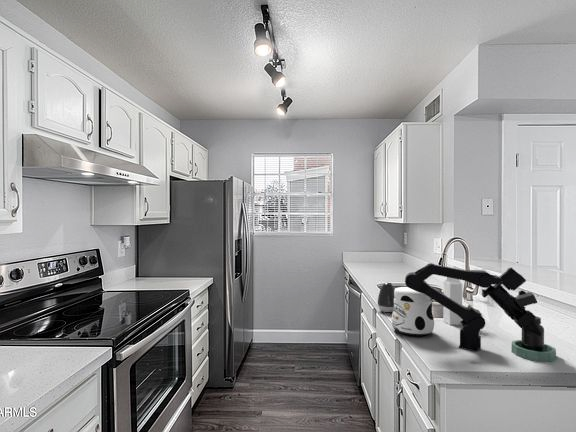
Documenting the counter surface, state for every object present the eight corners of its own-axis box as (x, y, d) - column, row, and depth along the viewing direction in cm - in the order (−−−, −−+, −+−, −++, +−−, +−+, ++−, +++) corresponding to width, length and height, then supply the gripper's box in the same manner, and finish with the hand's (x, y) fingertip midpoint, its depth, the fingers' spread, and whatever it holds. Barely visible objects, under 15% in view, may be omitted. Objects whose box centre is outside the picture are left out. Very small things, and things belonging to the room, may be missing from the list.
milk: (462, 324, 169) (462, 277, 169) (449, 325, 169) (450, 277, 169) (454, 321, 176) (455, 275, 176) (442, 321, 175) (443, 275, 175)
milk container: (384, 332, 157) (384, 290, 157) (402, 324, 170) (402, 285, 170) (424, 341, 145) (424, 296, 145) (440, 332, 158) (440, 290, 158)
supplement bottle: (531, 345, 137) (532, 313, 137) (548, 352, 130) (549, 319, 130) (516, 347, 135) (517, 315, 135) (533, 354, 129) (534, 320, 128)
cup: (510, 355, 131) (510, 347, 131) (513, 345, 142) (513, 337, 142) (556, 364, 123) (556, 355, 123) (555, 353, 134) (555, 344, 134)
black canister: (400, 310, 194) (400, 282, 194) (394, 315, 185) (394, 285, 185) (381, 308, 199) (381, 280, 200) (374, 312, 191) (375, 283, 191)
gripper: (529, 289, 125) (567, 325, 122) (514, 280, 143) (546, 311, 139) (502, 309, 127) (538, 345, 124) (491, 298, 145) (522, 330, 142)
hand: (537, 332), depth 132 cm, fingers closed on supplement bottle, 7 cm apart
